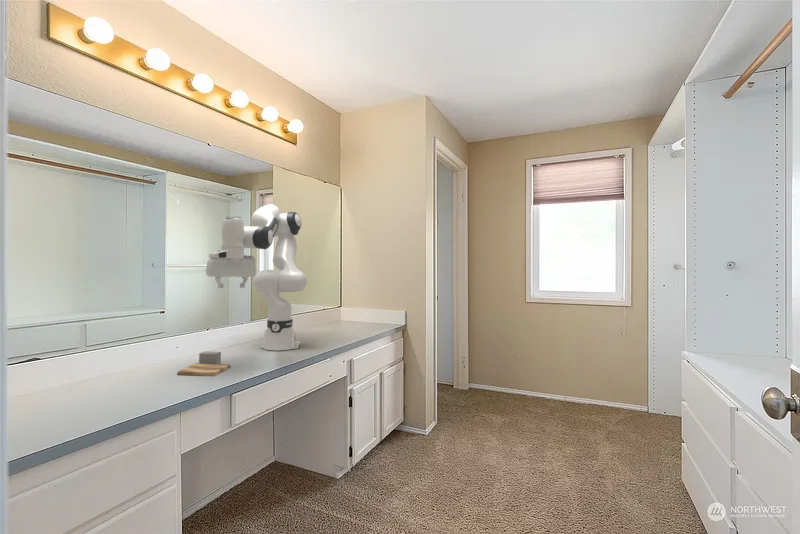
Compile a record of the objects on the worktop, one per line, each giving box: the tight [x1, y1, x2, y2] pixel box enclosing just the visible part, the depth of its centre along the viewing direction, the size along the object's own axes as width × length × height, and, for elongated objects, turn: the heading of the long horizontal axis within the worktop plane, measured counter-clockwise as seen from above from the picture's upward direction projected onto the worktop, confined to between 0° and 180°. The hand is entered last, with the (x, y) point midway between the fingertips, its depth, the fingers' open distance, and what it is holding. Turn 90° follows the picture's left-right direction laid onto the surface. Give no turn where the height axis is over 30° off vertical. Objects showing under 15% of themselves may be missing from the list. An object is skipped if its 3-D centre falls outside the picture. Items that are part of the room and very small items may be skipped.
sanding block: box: [198, 350, 222, 364], centre depth 167 cm, size 4×7×5 cm, turn 88°
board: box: [176, 362, 231, 377], centre depth 157 cm, size 13×14×1 cm
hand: (231, 287), depth 169 cm, fingers open, 8 cm apart
